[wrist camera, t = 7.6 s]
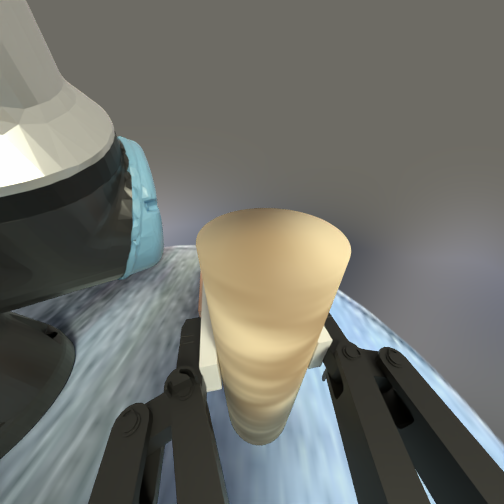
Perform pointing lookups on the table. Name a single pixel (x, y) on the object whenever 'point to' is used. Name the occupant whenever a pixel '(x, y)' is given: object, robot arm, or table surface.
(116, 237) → the robot arm
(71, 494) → the table surface
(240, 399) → the peg
